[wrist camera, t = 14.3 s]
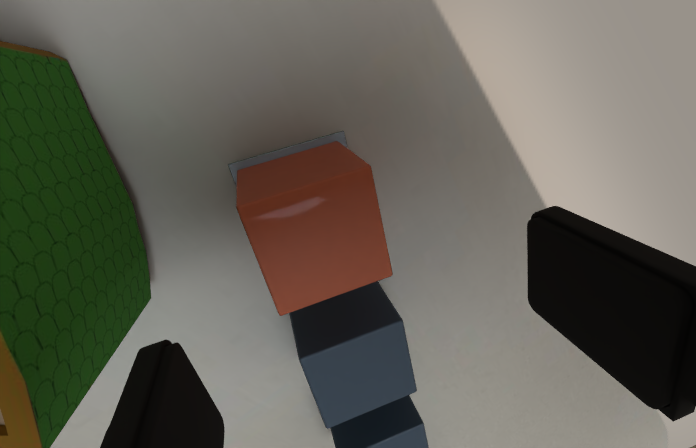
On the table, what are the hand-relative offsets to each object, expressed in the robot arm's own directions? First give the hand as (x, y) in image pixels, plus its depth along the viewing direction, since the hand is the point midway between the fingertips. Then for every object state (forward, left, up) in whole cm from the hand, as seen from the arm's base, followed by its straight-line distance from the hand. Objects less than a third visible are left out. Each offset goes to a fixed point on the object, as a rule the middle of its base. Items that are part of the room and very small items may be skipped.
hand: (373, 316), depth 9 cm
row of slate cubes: (0, +10, -9) cm, 13 cm away
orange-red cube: (0, 0, -9) cm, 9 cm away
